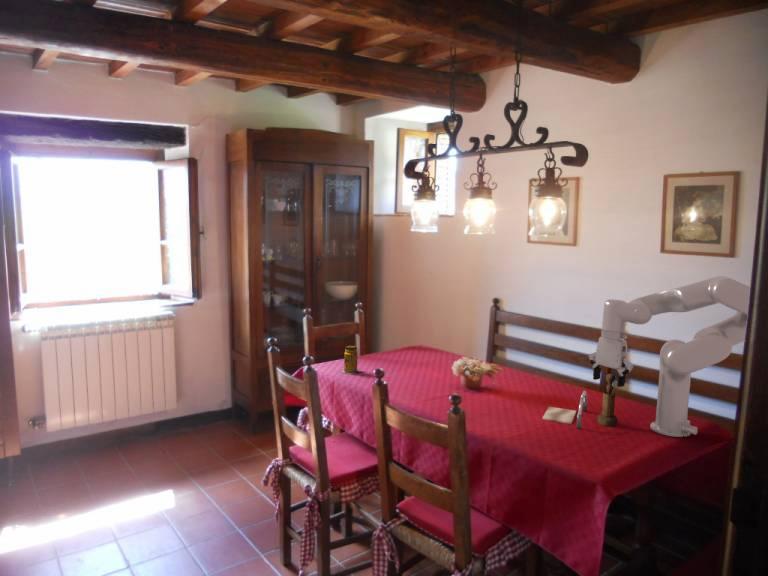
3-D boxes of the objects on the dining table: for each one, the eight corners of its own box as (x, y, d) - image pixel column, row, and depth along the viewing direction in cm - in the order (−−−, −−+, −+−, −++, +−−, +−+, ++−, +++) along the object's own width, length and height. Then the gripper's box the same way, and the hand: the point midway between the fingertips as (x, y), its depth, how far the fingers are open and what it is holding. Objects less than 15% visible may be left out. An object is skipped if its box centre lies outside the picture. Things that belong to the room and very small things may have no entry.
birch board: (576, 412, 216) (576, 410, 216) (571, 423, 203) (571, 422, 203) (548, 408, 220) (548, 406, 220) (542, 419, 207) (542, 417, 207)
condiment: (340, 371, 266) (340, 346, 265) (354, 368, 272) (354, 343, 270) (350, 375, 261) (350, 349, 259) (364, 372, 267) (364, 346, 265)
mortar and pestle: (594, 422, 205) (597, 373, 203) (602, 418, 209) (605, 370, 207) (612, 427, 200) (616, 377, 198) (620, 423, 205) (623, 374, 203)
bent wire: (586, 410, 218) (588, 386, 217) (580, 429, 198) (582, 402, 197) (583, 410, 218) (584, 385, 217) (576, 428, 199) (577, 401, 198)
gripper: (641, 339, 196) (637, 388, 198) (598, 329, 210) (594, 375, 212) (628, 341, 192) (623, 391, 194) (585, 331, 206) (581, 377, 208)
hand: (608, 382), depth 203 cm, fingers open, 9 cm apart
